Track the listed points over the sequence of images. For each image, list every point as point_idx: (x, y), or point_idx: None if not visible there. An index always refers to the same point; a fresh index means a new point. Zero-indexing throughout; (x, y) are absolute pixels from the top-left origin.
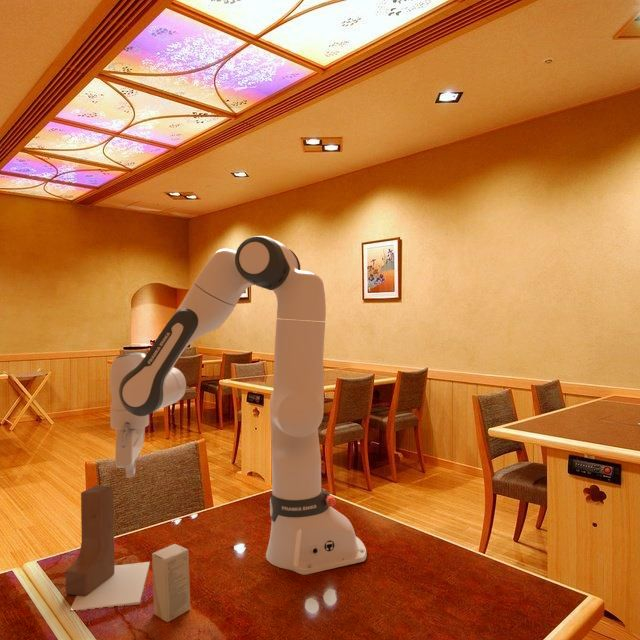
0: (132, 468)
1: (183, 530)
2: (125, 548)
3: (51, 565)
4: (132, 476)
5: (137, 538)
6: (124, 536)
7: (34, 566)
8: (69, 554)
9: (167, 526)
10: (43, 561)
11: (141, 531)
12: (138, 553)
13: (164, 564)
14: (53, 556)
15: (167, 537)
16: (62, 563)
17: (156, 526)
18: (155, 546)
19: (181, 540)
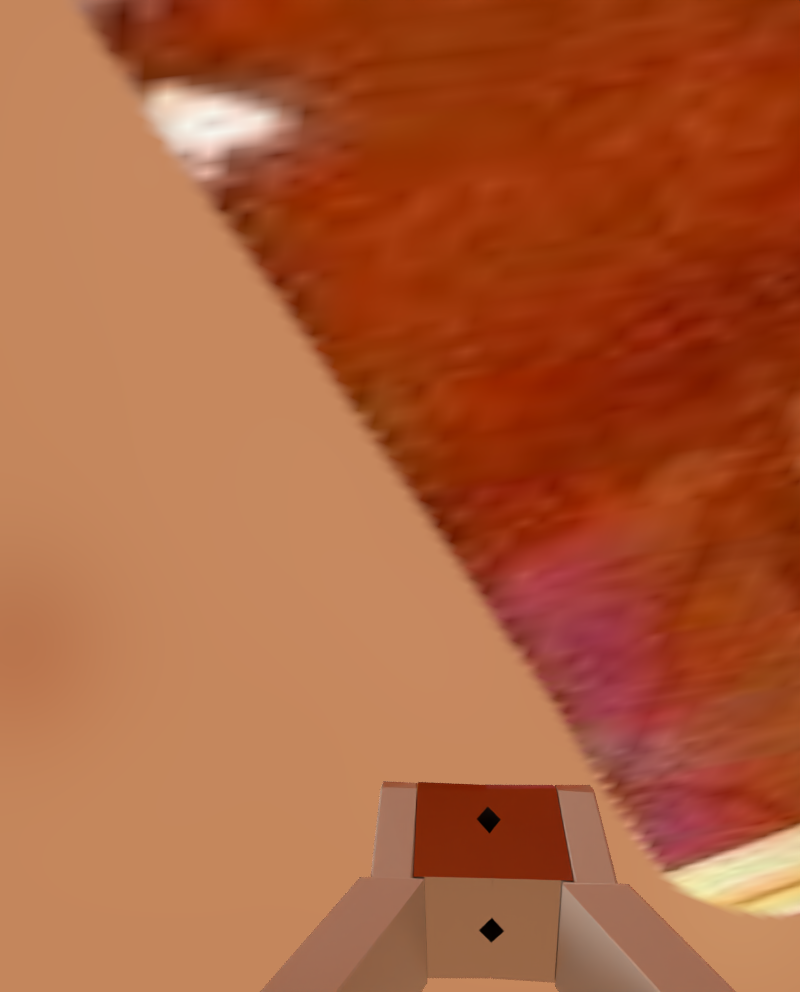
0: (663, 934)
1: (441, 38)
2: (663, 473)
3: (749, 808)
4: (589, 797)
5: (510, 418)
6: (449, 512)
7: (726, 871)
8: (634, 759)
9: (320, 208)
10: (679, 849)
11: (383, 408)
12: (788, 372)
13: None
14: (631, 822)
15: (559, 178)
16: (746, 767)
17: (304, 304)
18: (709, 259)
19: (664, 33)
